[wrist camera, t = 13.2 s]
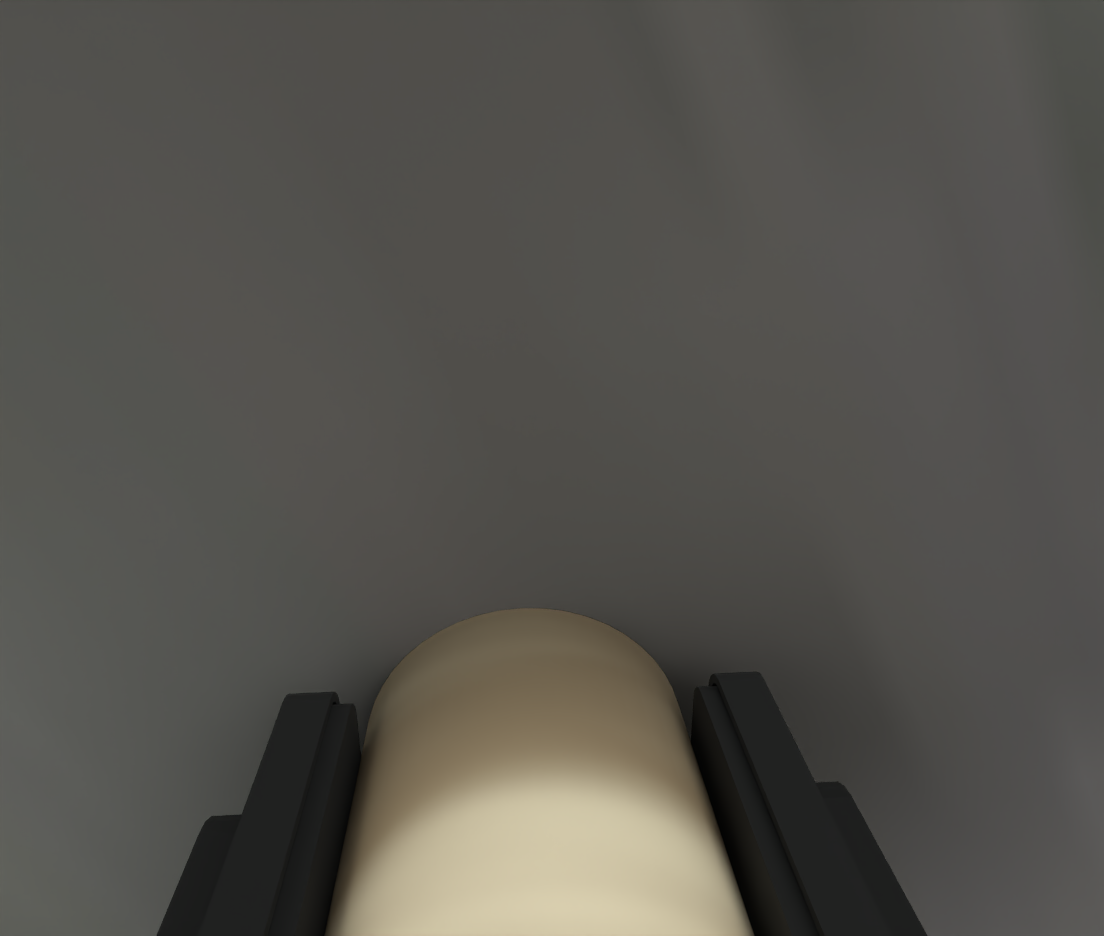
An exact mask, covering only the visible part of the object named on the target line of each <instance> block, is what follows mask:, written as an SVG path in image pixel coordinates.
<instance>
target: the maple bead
mask: <svg viewBox="0 0 1104 936" xmlns="http://www.w3.org/2000/svg"><path fill="white" fill-rule="evenodd" d="M324 936H754V933H753V930H752V927H751V924H750V921H749V918H748V915H747V911H746V908H745V905H744V902H743V899H742V896H741V893H740V890H739V887H738V884H737V881H736V878H735V875H734V872H733V869H732V866H731V863H730V860H729V857H728V854H727V851H726V848H725V845H724V842H723V839H722V836H721V833H720V830H719V826H718V823H717V820H716V817H715V814H714V811H713V808H712V805H711V802H710V799H709V796H708V793H707V790H706V787H705V784H704V781H703V778H702V775H701V772H700V769H699V766H698V763H697V760H696V757H695V754H694V751H693V748H692V744H691V741H690V738H689V735H688V732H687V729H686V726H685V723H684V720H683V717H682V714H681V711H680V708H679V705H678V702H677V699H676V696H675V694H674V691H673V688H672V686H671V685H670V683H669V681H668V679H667V677H666V675H665V674H664V672H663V671H662V669H661V668H660V667H659V666H658V664H657V663H656V662H655V660H654V659H653V658H652V657H651V656H650V655H649V654H648V653H647V652H646V651H645V650H644V649H643V648H642V647H641V646H640V645H639V644H637V643H636V642H634V641H633V640H632V639H630V638H629V637H628V636H626V635H625V634H623V633H622V632H620V631H618V630H616V629H614V628H612V627H611V626H609V625H607V624H605V623H602V622H599V621H597V620H594V619H592V618H589V617H586V616H583V615H579V614H575V613H571V612H567V611H560V610H552V609H544V608H519V609H509V610H500V611H495V612H491V613H486V614H482V615H478V616H475V617H472V618H469V619H466V620H463V621H460V622H458V623H456V624H454V625H452V626H449V627H447V628H445V629H443V630H441V631H439V632H438V633H436V634H434V635H433V636H431V637H430V638H428V639H427V640H425V641H424V642H422V643H421V644H420V645H418V646H417V647H416V648H415V649H414V650H412V651H411V652H410V653H409V654H408V655H406V656H405V658H404V659H403V660H402V661H401V662H400V663H399V664H398V665H397V666H396V667H395V669H394V670H393V671H392V672H391V674H390V675H389V677H388V678H387V680H386V681H385V683H384V684H383V686H382V688H381V690H380V692H379V694H378V696H377V698H376V700H375V702H374V705H373V708H372V712H371V715H370V718H369V722H368V727H367V732H366V737H365V741H364V746H363V751H362V756H361V762H360V767H359V772H358V776H357V781H356V786H355V791H354V796H353V800H352V805H351V810H350V815H349V820H348V824H347V829H346V834H345V839H344V844H343V848H342V853H341V858H340V863H339V867H338V872H337V877H336V882H335V887H334V891H333V896H332V901H331V906H330V911H329V915H328V920H327V925H326V930H325V935H324Z"/></svg>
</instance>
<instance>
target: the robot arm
mask: <svg viewBox="0 0 1104 936" xmlns="http://www.w3.org/2000/svg"><path fill="white" fill-rule="evenodd" d="M691 744H692V748H693V751H694V754H695V757H696V760H697V763H698V766H699V769H700V772H701V775H702V778H703V781H704V784H705V787H706V790H707V793H708V796H709V799H710V802H711V805H712V808H713V811H714V814H715V817H716V820H717V823H718V826H719V830H720V833H721V836H722V839H723V842H724V845H725V848H726V851H727V854H728V857H729V860H730V863H731V866H732V869H733V872H734V875H735V878H736V881H737V884H738V887H739V890H740V893H741V896H742V899H743V902H744V905H745V908H746V911H747V915H748V918H749V921H750V924H751V927H752V930H753V933H754V936H927V934H926V933H925V931H924V929H923V927H922V925H921V923H920V921H919V920H918V918H917V916H916V914H915V912H914V910H913V909H912V907H911V905H910V903H909V901H908V899H907V898H906V896H905V894H904V892H903V890H902V888H901V886H900V885H899V883H898V881H897V879H896V877H895V875H894V874H893V872H892V870H891V868H890V866H889V864H888V863H887V861H886V859H885V857H884V855H883V853H882V852H881V850H880V848H879V846H878V844H877V842H876V840H875V839H874V837H873V835H872V833H871V831H870V829H869V828H868V826H867V824H866V822H865V820H864V818H863V817H862V815H861V813H860V811H859V809H858V807H857V806H856V804H855V802H854V800H853V798H852V796H851V795H850V793H849V792H848V791H847V789H846V788H845V786H844V785H842V784H841V783H839V782H821V783H815V781H814V779H813V777H812V775H811V773H810V771H809V769H808V767H807V765H806V763H805V761H804V759H803V757H802V755H801V753H800V751H799V749H798V747H797V745H796V743H795V741H794V739H793V737H792V735H791V733H790V731H789V729H788V727H787V725H786V723H785V721H784V719H783V717H782V715H781V713H780V711H779V709H778V707H777V705H776V703H775V701H774V699H773V697H772V695H771V693H770V691H769V689H768V687H767V685H766V683H765V681H764V679H763V677H762V676H761V674H760V673H758V672H740V673H719V674H712V675H711V677H710V680H709V686H704V687H696V688H695V691H694V699H693V716H692V733H691ZM360 762H361V751H360V742H359V733H358V724H357V715H356V709H355V706H354V704H340V703H339V698H338V695H337V693H336V692H321V693H300V694H288V695H287V696H286V697H285V699H284V701H283V703H282V706H281V709H280V712H279V714H278V717H277V720H276V722H275V725H274V728H273V731H272V733H271V736H270V739H269V742H268V744H267V747H266V750H265V753H264V755H263V758H262V761H261V764H260V766H259V769H258V772H257V774H256V777H255V780H254V783H253V785H252V788H251V791H250V794H249V796H248V799H247V802H246V805H245V807H244V810H243V813H242V815H225V816H211V817H210V818H209V819H208V820H207V821H206V822H205V823H204V825H203V827H202V829H201V831H200V833H199V835H198V837H197V840H196V842H195V845H194V847H193V849H192V852H191V854H190V857H189V859H188V861H187V864H186V866H185V869H184V871H183V873H182V876H181V878H180V881H179V883H178V885H177V888H176V890H175V893H174V895H173V897H172V900H171V902H170V905H169V907H168V909H167V912H166V914H165V917H164V919H163V921H162V924H161V926H160V929H159V931H158V933H157V936H324V935H325V930H326V925H327V920H328V915H329V911H330V906H331V901H332V896H333V891H334V887H335V882H336V877H337V872H338V867H339V863H340V858H341V853H342V848H343V844H344V839H345V834H346V829H347V824H348V820H349V815H350V810H351V805H352V800H353V796H354V791H355V786H356V781H357V776H358V772H359V767H360Z"/></svg>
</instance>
